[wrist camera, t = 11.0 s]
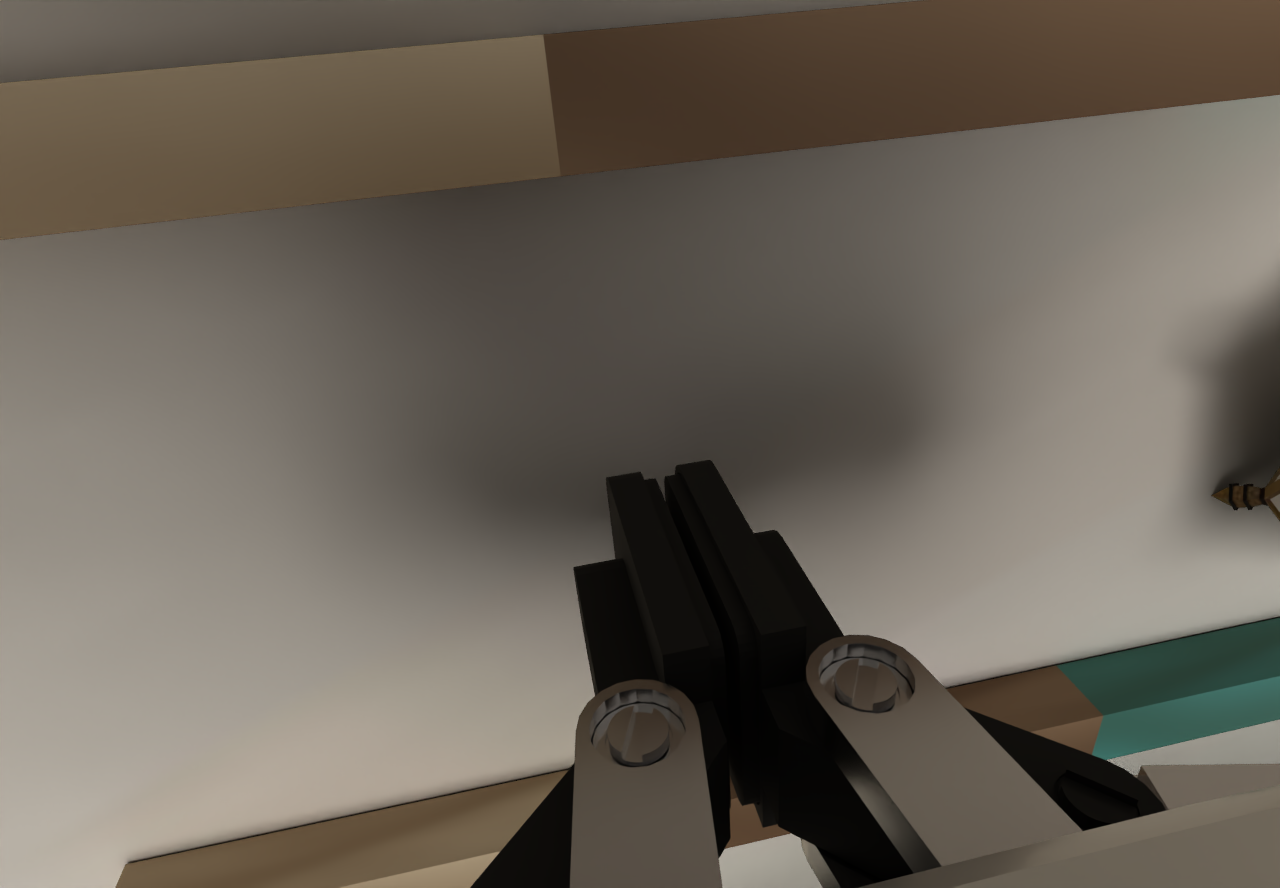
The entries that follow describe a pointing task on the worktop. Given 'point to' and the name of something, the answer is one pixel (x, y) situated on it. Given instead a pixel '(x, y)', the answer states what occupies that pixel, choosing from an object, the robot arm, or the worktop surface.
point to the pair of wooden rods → (622, 139)
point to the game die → (1253, 495)
